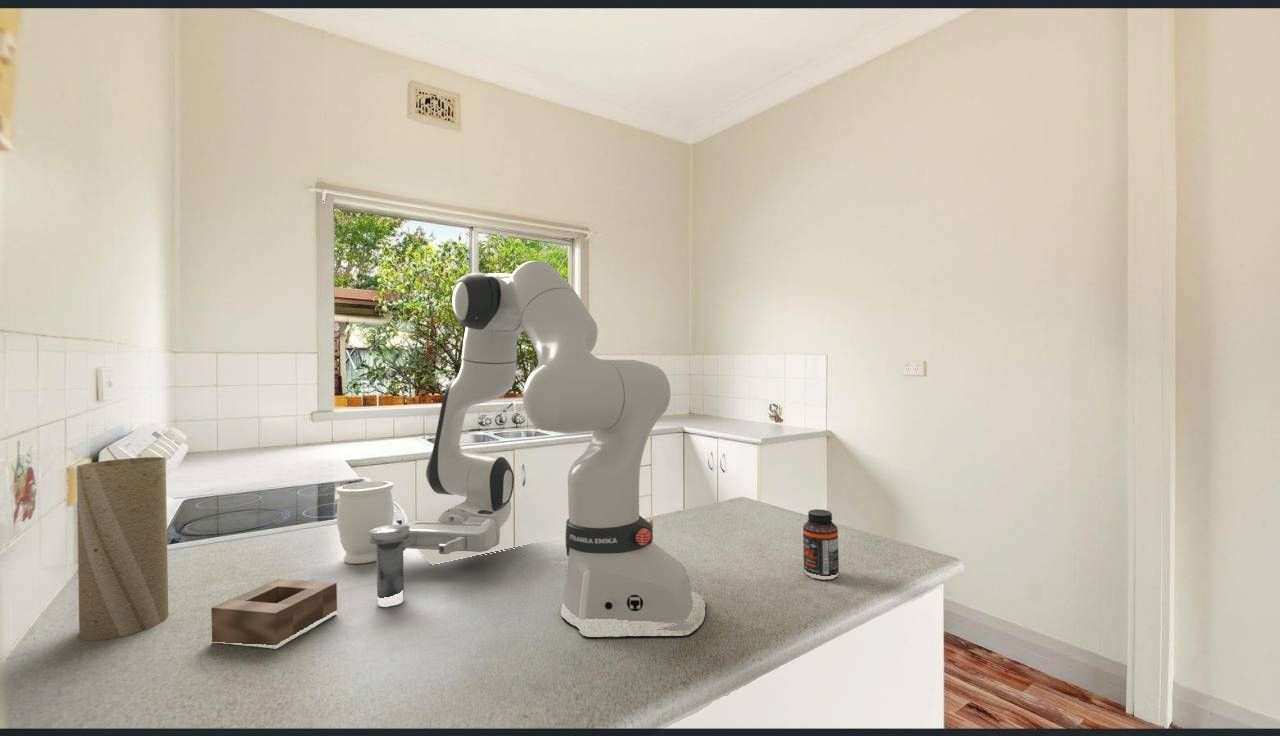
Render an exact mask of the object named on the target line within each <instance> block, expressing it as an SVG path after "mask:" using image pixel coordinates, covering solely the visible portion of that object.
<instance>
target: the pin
mask: <svg viewBox="0 0 1280 736" xmlns="http://www.w3.org/2000/svg"><path fill="white" fill-rule="evenodd" d="M407 538H409V526H407V525H402V524H393V525H387V526H382V527H378V528H375V529H372V530H371V531H370V532H369V542H370V543H372V544H376V554H377V561H376V590H377V591H376V593H377V594H376V596H378V597H379V598H384V597H390V596H393V595H395V594H398V593H400V592H401V591H402V590H403V589H404V590H405V575H404V572H405V570H404V567H405V566H404V551H403V540H406V539H407Z"/></svg>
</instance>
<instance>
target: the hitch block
mask: <svg viewBox="0 0 1280 736" xmlns="http://www.w3.org/2000/svg"><path fill="white" fill-rule="evenodd" d="M337 587H338V586H337V582H333V581H332V582H330V581H317V580H315V581H314V580H301V579H286V578H277V579H275V580H272V581H270V582H268V583H265V584H263V585H260V586H258V587H256V588H253V589H252V590H249V591H247V592H245V593H242V594H239V595H238V596H235V597H233V598H230V599H227V600H226V601H224V602H222V603H219V604H216V605H215V606H212V607H210V608H211V611H210V612H211V643H212V642H225V643H242V644H262V645H263V644H266V645H277V644H279V643H280V642H281V641H283V640H285V639H287V638H289V637H290V636H292V635H294V634H296V633H297V632H299V631H300V630H303V629H304V628H306V627H308V626H309V625H311V624H313V623H314V622H316V621H318V620H320V619H322V618H324V617H326V616H327V615H329V614H330V613H332V612H334V611H336V610H337V611H338V589H337Z"/></svg>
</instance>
